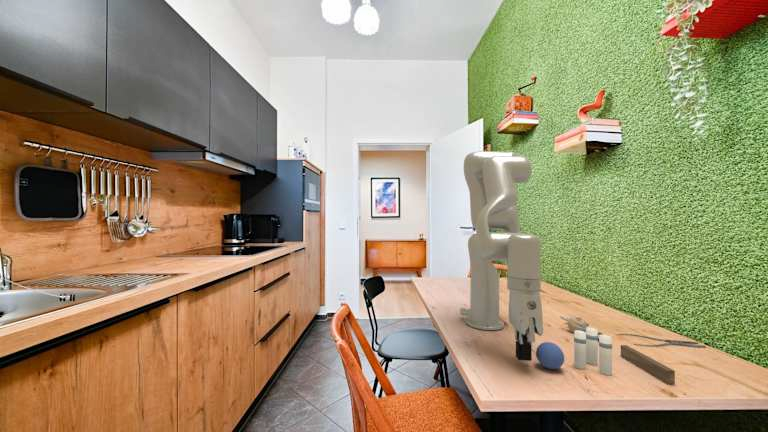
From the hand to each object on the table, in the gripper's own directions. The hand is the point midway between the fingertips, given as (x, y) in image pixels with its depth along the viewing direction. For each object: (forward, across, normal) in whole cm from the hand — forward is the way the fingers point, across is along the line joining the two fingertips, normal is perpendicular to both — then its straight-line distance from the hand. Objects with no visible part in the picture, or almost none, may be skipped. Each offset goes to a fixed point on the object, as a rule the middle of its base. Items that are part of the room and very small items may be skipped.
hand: (523, 358), depth 74 cm
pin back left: (+2, +3, -18) cm, 18 cm away
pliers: (+2, +21, -48) cm, 52 cm away
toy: (+2, +23, -27) cm, 36 cm away
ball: (-2, -1, -6) cm, 6 cm away
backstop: (+2, +1, -29) cm, 29 cm away
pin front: (+2, 0, -14) cm, 14 cm away
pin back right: (+2, -2, -18) cm, 18 cm away
